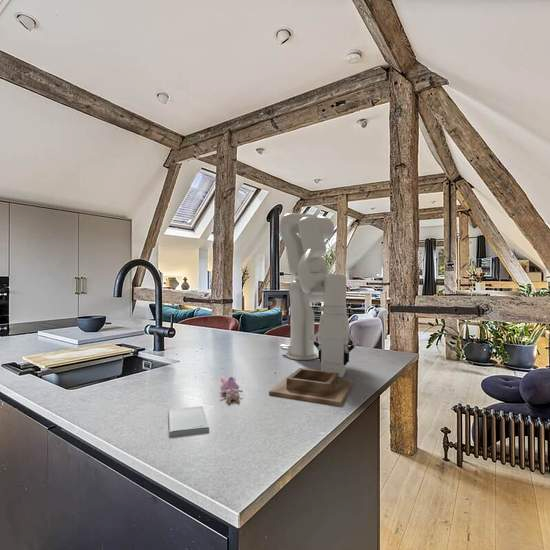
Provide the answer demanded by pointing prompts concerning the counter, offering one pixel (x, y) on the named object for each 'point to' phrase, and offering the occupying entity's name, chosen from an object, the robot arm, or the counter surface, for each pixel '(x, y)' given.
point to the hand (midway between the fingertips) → (333, 362)
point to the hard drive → (187, 421)
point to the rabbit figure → (230, 388)
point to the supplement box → (332, 356)
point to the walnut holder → (313, 386)
